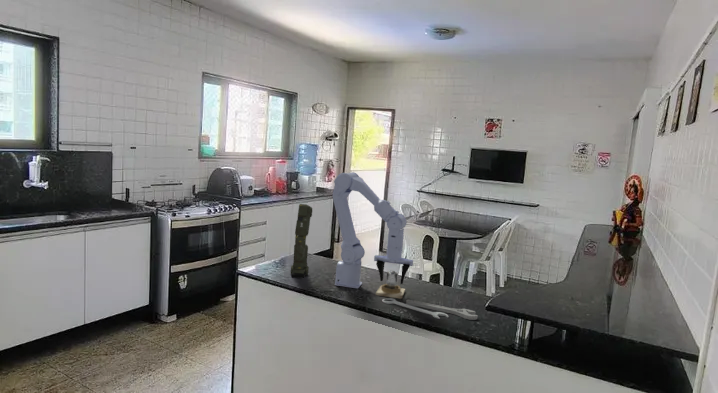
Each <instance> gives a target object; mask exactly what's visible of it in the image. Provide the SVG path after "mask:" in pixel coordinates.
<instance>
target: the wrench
mask: <svg viewBox="0 0 718 393" xmlns="http://www.w3.org/2000/svg"><path fill="white" fill-rule="evenodd" d="M381 301H382V303H384V304H387V305H393V304H394V305H396V306H400V307H403V308H407V309H410V310H412V311H417V312H420V313H423V314H427V315H430V316H432V317H433V318H434V319H438V320H440V319H441V318H440V317H439V316H441V317H445V318H447V319H448V318H449V315H448V314H447V313H446V312H442V311H430V310H428V309H425V308H422V307H418V306H413V305H408V304H406V303H405V302H402V301H401V302H400V301H398V300H396V298H392V297H385V298H383V299H381Z"/></svg>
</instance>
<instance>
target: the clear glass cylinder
mask: <svg viewBox="0 0 718 393" xmlns="http://www.w3.org/2000/svg"><path fill="white" fill-rule="evenodd" d="M398 275H399V273H398V272H397V271H395V270H390V271H387V272H386V281H385V284H386V288H388V289H397V285H398V278H399V277H398Z"/></svg>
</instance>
